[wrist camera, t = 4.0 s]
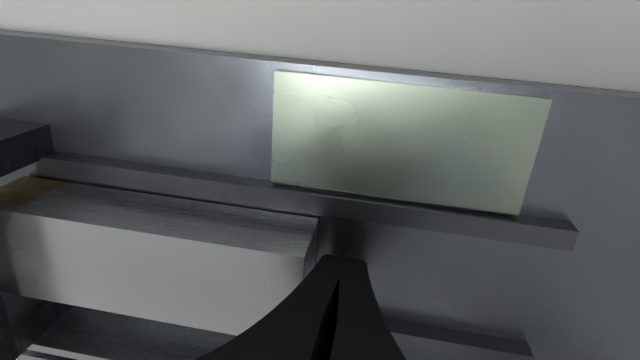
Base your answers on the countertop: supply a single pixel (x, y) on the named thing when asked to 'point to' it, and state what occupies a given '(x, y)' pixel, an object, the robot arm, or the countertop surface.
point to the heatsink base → (348, 189)
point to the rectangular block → (150, 253)
